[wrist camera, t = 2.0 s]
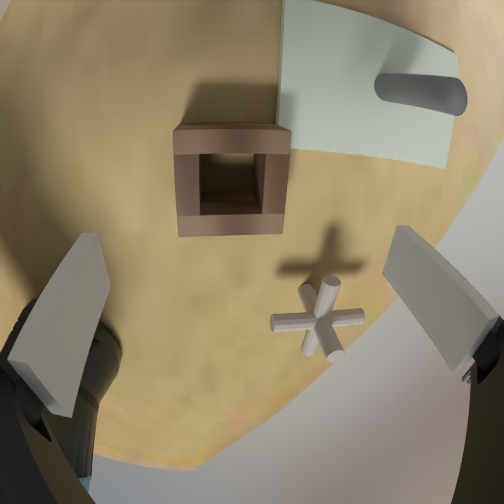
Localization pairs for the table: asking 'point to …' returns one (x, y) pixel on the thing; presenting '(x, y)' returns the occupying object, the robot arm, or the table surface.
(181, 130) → the collar
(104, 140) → the table surface
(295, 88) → the post stand
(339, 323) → the pipe connector
